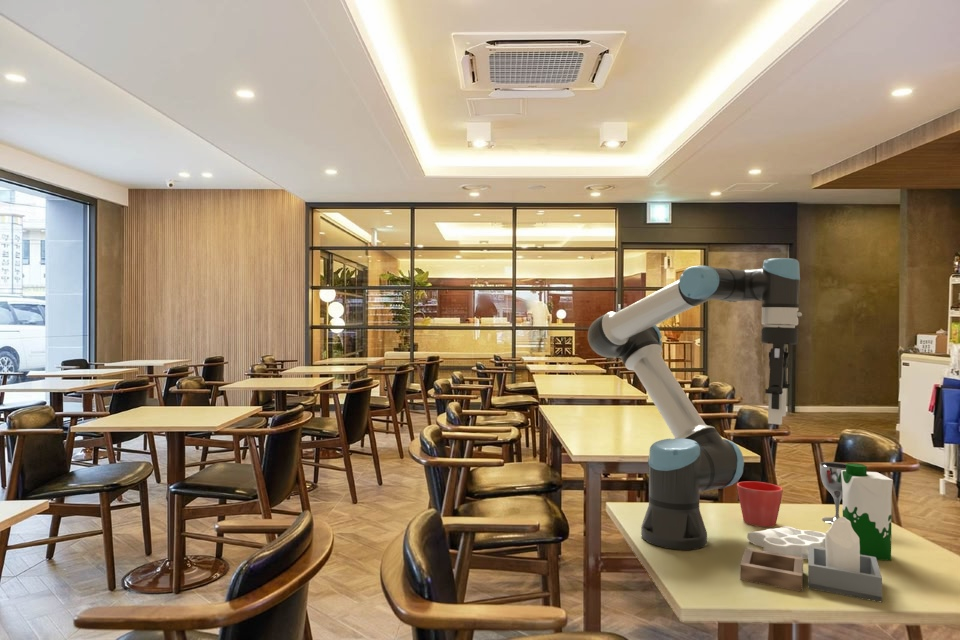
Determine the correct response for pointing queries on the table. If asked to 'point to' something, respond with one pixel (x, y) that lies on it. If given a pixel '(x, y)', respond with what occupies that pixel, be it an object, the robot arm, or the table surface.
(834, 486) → the wine glass
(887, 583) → the table surface
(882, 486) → the milk carton
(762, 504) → the flower pot
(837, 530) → the white tall rounded piece
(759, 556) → the holder
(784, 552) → the white brass knuckles
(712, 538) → the table surface
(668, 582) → the table surface
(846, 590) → the tray
